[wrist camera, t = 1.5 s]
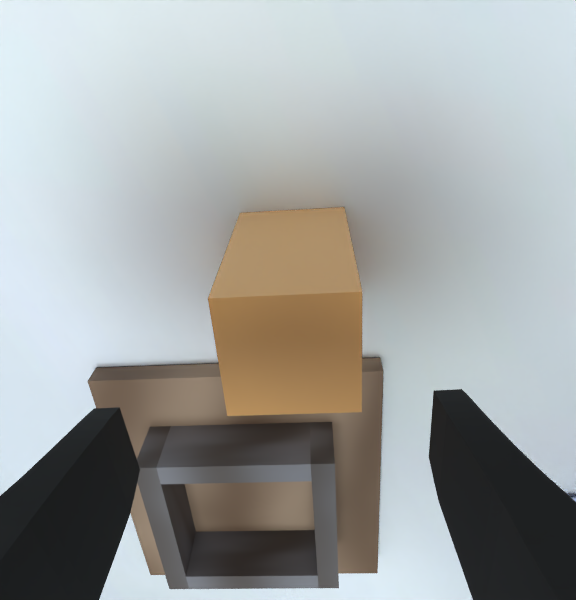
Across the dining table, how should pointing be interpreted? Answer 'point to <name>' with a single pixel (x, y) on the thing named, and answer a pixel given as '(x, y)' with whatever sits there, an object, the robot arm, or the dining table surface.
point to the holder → (247, 481)
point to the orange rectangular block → (289, 315)
